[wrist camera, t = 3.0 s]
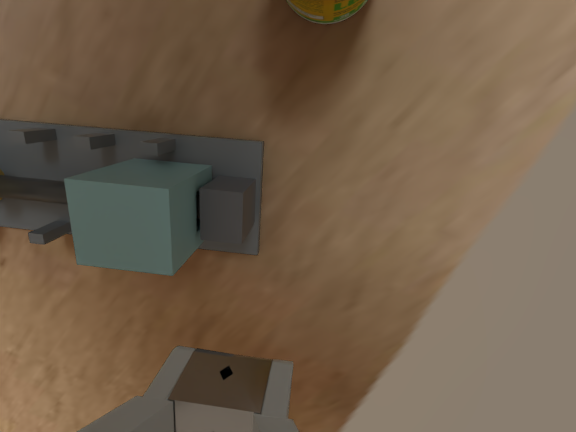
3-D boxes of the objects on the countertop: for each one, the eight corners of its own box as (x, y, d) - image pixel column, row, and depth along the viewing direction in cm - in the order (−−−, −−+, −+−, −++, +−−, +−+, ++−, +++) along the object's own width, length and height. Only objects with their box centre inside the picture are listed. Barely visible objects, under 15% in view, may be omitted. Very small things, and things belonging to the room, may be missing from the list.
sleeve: (134, 158, 21) (63, 178, 15) (211, 165, 21) (168, 188, 15) (139, 223, 22) (77, 264, 17) (212, 231, 22) (172, 275, 16)
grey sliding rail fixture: (-59, 114, 23) (-188, 117, 17) (263, 141, 21) (240, 155, 15) (-32, 219, 25) (-136, 253, 19) (259, 252, 23) (237, 300, 18)
